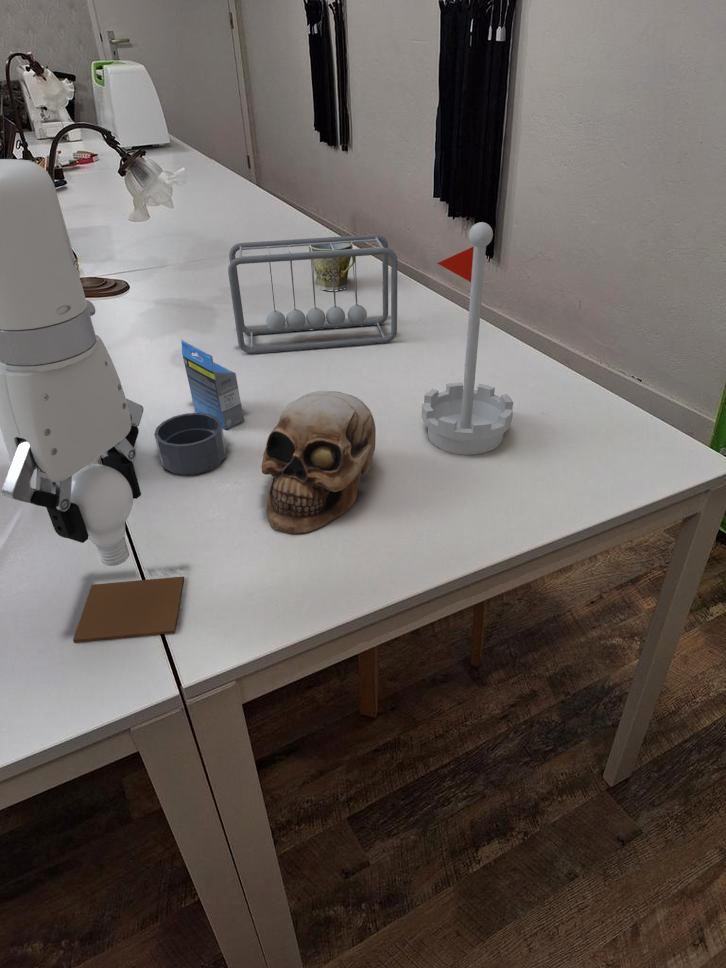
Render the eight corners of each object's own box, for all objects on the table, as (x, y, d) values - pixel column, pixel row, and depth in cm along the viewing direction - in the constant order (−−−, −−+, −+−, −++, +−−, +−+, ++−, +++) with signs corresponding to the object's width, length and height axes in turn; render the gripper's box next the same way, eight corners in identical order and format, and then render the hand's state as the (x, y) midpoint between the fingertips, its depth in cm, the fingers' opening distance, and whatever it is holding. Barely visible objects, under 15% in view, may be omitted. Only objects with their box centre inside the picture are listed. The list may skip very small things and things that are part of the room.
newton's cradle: (387, 323, 133) (387, 232, 123) (397, 342, 125) (398, 247, 115) (240, 334, 130) (227, 243, 120) (239, 355, 122) (226, 259, 112)
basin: (157, 479, 89) (149, 448, 86) (166, 444, 96) (159, 415, 93) (224, 474, 89) (218, 443, 87) (228, 440, 97) (223, 410, 94)
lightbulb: (162, 560, 65) (137, 468, 59) (103, 593, 61) (70, 499, 55) (129, 533, 69) (102, 444, 62) (71, 563, 65) (37, 472, 59)
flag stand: (511, 417, 100) (536, 211, 83) (508, 462, 90) (537, 238, 73) (426, 410, 103) (434, 208, 86) (415, 454, 92) (421, 234, 75)
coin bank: (271, 538, 78) (261, 435, 71) (257, 473, 92) (248, 383, 86) (397, 520, 81) (399, 420, 74) (365, 460, 95) (364, 372, 89)
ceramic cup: (302, 287, 153) (299, 243, 147) (335, 277, 158) (333, 235, 153) (338, 300, 145) (336, 255, 139) (371, 290, 150) (370, 245, 145)
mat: (73, 642, 65) (72, 640, 65) (92, 587, 72) (91, 584, 72) (175, 633, 66) (174, 630, 66) (184, 578, 73) (183, 576, 72)
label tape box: (245, 421, 101) (234, 347, 94) (223, 431, 99) (211, 356, 92) (213, 403, 106) (201, 331, 99) (192, 412, 104) (177, 339, 97)
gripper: (86, 295, 59) (131, 460, 69) (-90, 372, 46) (-2, 562, 57) (152, 305, 56) (189, 475, 67) (-14, 390, 44) (63, 585, 54)
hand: (101, 513), depth 62 cm, fingers closed on lightbulb, 6 cm apart
